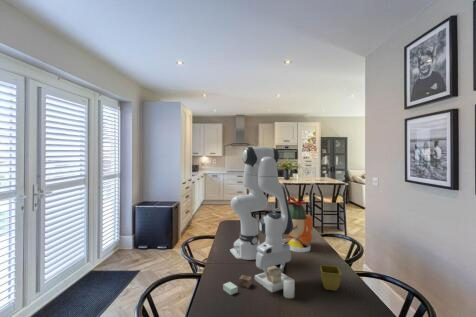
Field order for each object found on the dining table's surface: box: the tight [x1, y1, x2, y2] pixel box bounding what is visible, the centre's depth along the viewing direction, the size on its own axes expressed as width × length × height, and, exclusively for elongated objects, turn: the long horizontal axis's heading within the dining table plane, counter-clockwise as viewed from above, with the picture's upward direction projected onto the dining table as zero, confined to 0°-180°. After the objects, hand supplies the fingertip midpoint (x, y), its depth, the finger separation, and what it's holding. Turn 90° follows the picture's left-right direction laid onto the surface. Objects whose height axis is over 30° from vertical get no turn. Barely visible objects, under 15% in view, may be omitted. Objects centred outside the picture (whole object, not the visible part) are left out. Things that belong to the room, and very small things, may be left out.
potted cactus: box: [283, 196, 314, 253], centre depth 177 cm, size 22×22×35 cm
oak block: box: [267, 265, 282, 284], centre depth 126 cm, size 5×5×6 cm
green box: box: [222, 281, 239, 296], centre depth 117 cm, size 6×4×3 cm, turn 38°
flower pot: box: [319, 264, 342, 292], centre depth 121 cm, size 9×9×9 cm
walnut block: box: [238, 274, 252, 289], centre depth 123 cm, size 5×4×4 cm
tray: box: [254, 272, 291, 293], centre depth 126 cm, size 14×14×2 cm
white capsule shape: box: [282, 277, 296, 299], centre depth 114 cm, size 5×5×7 cm
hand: (274, 273), depth 126 cm, fingers open, 8 cm apart
